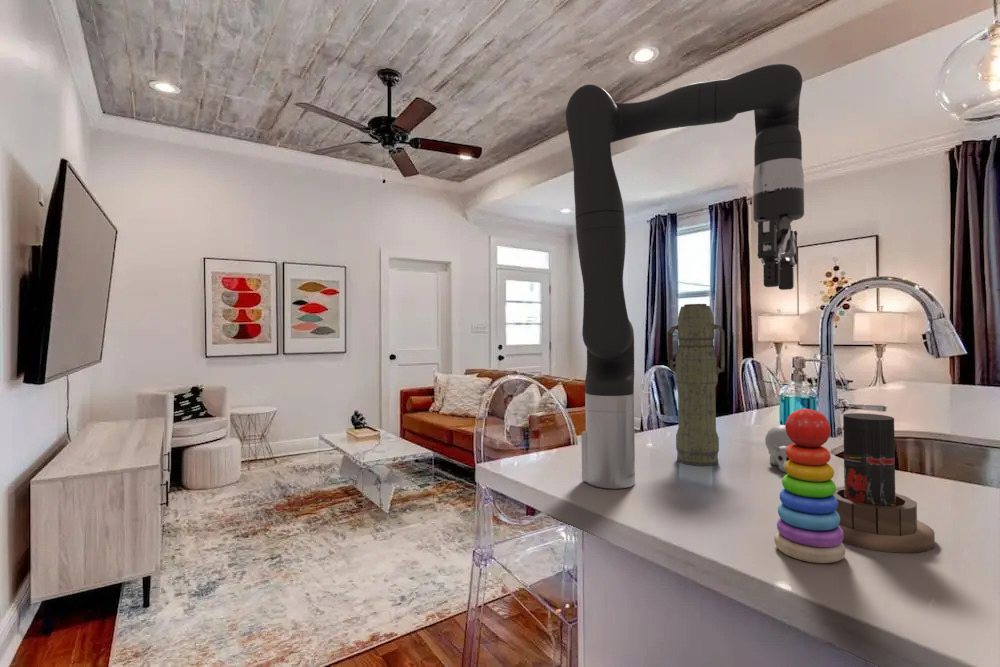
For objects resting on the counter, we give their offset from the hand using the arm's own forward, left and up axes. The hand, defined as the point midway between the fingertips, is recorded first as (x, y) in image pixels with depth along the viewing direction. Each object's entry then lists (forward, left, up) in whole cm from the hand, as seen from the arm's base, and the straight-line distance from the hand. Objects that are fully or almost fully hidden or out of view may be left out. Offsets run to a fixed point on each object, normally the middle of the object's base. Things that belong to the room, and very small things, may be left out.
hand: (779, 288), depth 87 cm
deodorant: (+13, -6, -35) cm, 38 cm away
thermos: (-22, +19, -36) cm, 47 cm away
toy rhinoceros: (-6, +25, -36) cm, 45 cm away
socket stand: (+13, -6, -36) cm, 39 cm away
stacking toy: (+8, -19, -36) cm, 42 cm away
